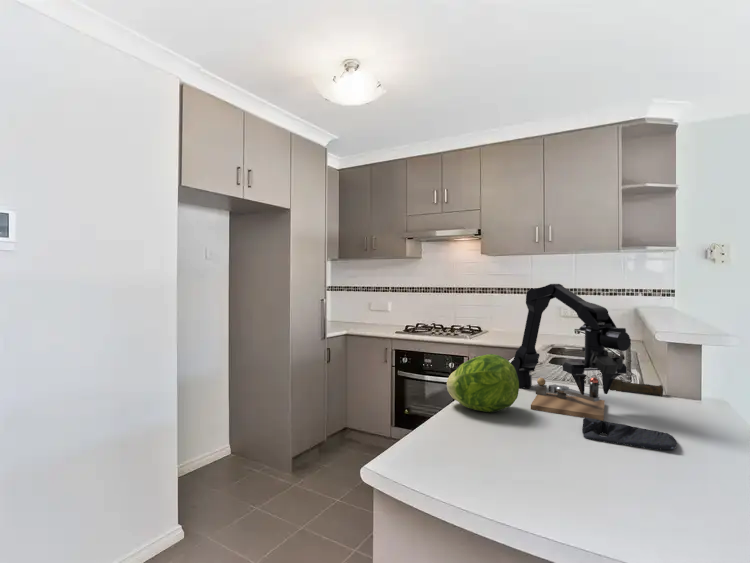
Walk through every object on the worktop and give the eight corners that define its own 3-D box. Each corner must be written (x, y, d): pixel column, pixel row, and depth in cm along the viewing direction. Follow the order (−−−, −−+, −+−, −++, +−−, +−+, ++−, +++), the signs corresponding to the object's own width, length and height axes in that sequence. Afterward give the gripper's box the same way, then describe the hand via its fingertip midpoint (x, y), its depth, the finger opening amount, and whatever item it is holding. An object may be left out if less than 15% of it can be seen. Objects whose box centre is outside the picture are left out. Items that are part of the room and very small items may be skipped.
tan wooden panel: (529, 409, 138) (529, 386, 137) (537, 395, 153) (537, 375, 153) (603, 420, 127) (603, 396, 127) (604, 404, 143) (604, 383, 143)
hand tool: (662, 395, 156) (662, 382, 156) (663, 397, 152) (663, 385, 152) (604, 388, 165) (604, 376, 165) (604, 390, 162) (604, 378, 162)
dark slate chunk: (678, 459, 101) (678, 440, 101) (578, 439, 114) (578, 421, 114) (676, 439, 114) (676, 422, 114) (586, 423, 126) (586, 407, 126)
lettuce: (463, 397, 152) (452, 349, 151) (529, 396, 140) (518, 344, 138) (444, 422, 136) (431, 369, 135) (517, 424, 124) (504, 365, 122)
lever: (547, 391, 148) (547, 368, 148) (556, 390, 150) (556, 366, 150) (593, 405, 133) (593, 379, 133) (601, 403, 135) (602, 377, 135)
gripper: (582, 350, 126) (581, 402, 126) (640, 349, 128) (639, 400, 128) (562, 344, 137) (561, 392, 137) (615, 343, 139) (614, 390, 139)
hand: (594, 394), depth 135 cm, fingers open, 8 cm apart
